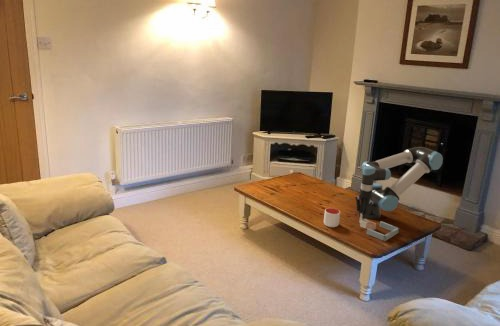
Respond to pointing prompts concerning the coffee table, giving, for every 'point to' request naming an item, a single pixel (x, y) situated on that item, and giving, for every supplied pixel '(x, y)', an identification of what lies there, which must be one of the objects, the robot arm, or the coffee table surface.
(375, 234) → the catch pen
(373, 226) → the tile front
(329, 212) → the cup
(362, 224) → the tile rear
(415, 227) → the coffee table surface
